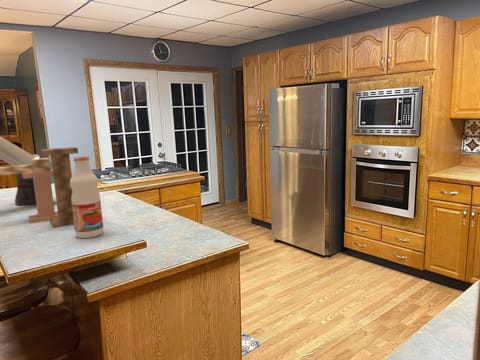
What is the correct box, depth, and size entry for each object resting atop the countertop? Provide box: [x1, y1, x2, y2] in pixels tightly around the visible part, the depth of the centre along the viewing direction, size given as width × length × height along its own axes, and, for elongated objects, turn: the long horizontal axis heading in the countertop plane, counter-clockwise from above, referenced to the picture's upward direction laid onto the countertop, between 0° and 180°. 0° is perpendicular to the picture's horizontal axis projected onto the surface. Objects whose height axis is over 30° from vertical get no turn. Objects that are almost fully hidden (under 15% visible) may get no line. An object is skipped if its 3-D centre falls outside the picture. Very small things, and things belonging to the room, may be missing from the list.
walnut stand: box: [40, 146, 79, 228], centre depth 145 cm, size 12×9×30 cm
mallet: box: [0, 157, 51, 176], centre depth 148 cm, size 20×7×5 cm, turn 123°
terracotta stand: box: [23, 169, 59, 224], centre depth 153 cm, size 13×8×20 cm, turn 123°
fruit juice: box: [70, 155, 104, 239], centre depth 128 cm, size 9×9×28 cm
